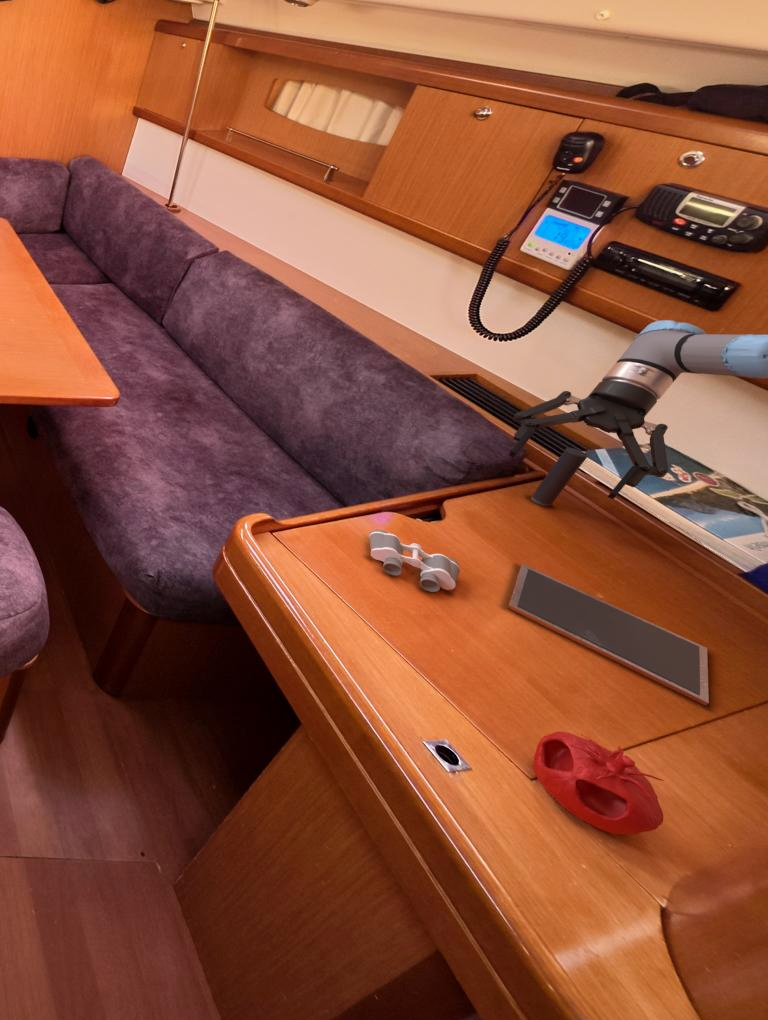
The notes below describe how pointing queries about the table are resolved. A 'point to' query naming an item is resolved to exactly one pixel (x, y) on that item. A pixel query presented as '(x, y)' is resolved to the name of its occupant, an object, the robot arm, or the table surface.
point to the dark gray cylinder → (559, 476)
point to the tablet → (613, 633)
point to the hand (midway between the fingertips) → (559, 474)
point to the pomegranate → (597, 784)
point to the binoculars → (414, 561)
